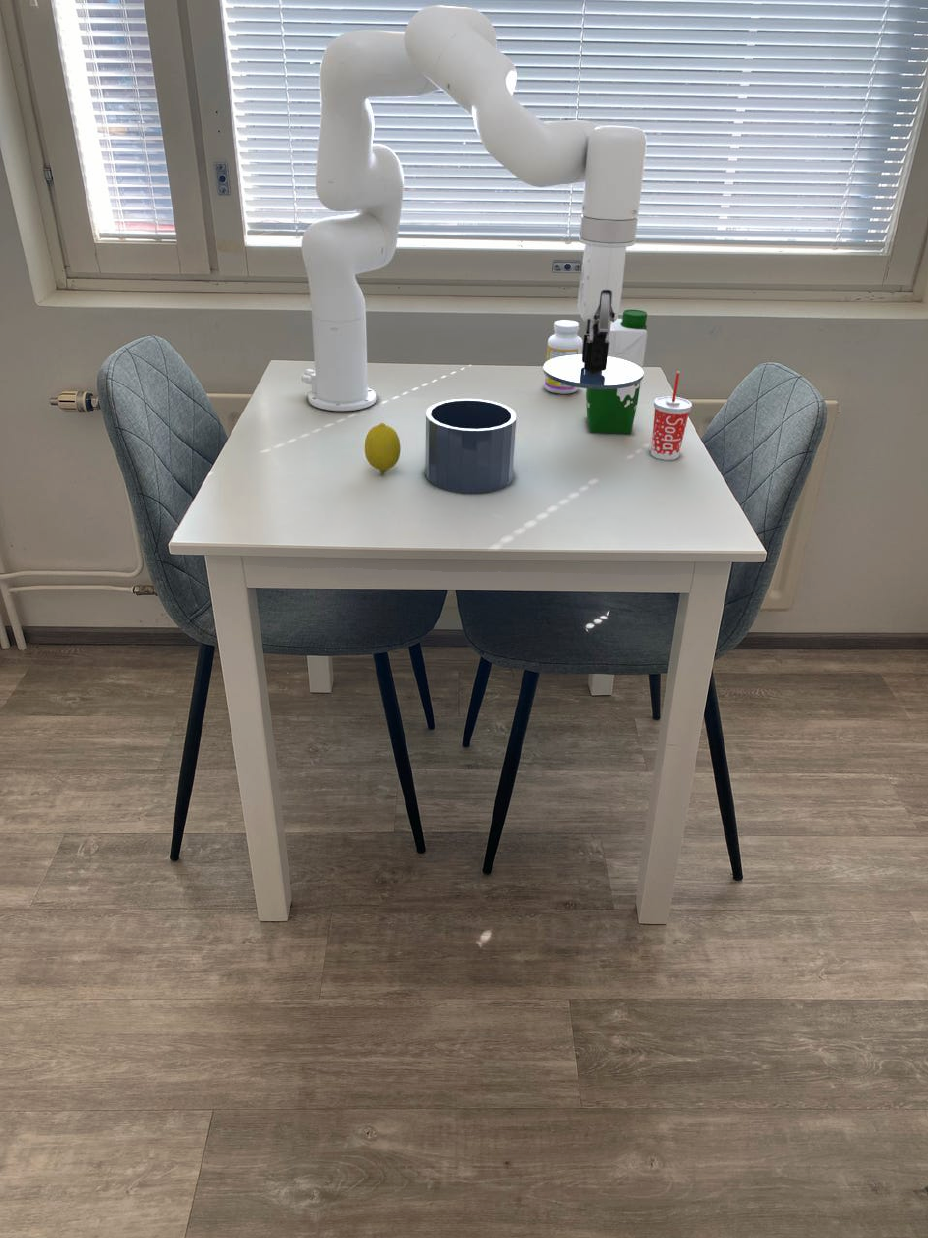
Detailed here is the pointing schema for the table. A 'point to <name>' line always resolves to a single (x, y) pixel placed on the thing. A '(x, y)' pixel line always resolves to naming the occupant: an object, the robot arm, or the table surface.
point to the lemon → (382, 447)
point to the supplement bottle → (563, 351)
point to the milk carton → (619, 405)
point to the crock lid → (593, 373)
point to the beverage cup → (669, 425)
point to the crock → (470, 445)
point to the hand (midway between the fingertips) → (593, 365)
